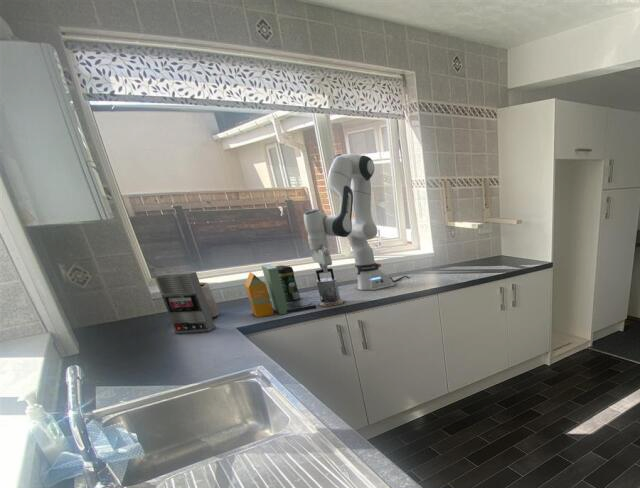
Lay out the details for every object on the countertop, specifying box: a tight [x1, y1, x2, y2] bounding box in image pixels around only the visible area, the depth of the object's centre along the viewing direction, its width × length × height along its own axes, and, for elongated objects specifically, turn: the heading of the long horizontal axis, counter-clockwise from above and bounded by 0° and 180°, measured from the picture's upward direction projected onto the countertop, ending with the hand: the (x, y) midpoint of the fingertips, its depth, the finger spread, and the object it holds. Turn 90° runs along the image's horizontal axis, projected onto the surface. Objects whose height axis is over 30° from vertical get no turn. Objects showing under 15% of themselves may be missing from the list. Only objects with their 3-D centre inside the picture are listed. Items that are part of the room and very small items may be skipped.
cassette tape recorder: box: [153, 271, 216, 335], centre depth 181 cm, size 14×6×25 cm, turn 99°
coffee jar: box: [275, 264, 301, 302], centre depth 230 cm, size 10×8×19 cm
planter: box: [200, 282, 220, 320], centre depth 201 cm, size 18×18×16 cm
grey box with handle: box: [315, 267, 341, 303], centre depth 219 cm, size 10×12×16 cm
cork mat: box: [319, 299, 344, 307], centre depth 224 cm, size 12×12×1 cm
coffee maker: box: [261, 263, 317, 315], centre depth 213 cm, size 18×15×22 cm
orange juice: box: [244, 272, 275, 318], centre depth 205 cm, size 8×9×20 cm
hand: (324, 272), depth 217 cm, fingers closed on grey box with handle
